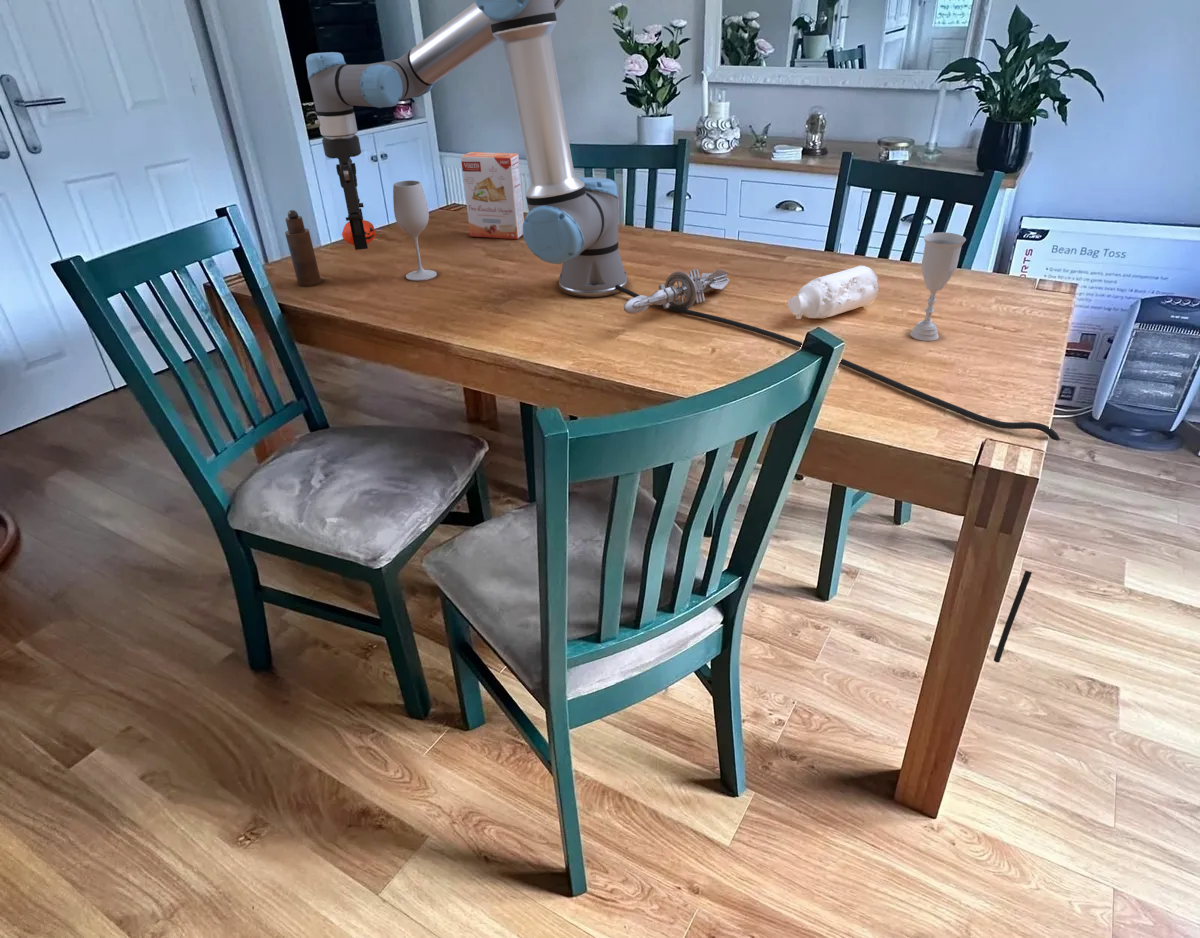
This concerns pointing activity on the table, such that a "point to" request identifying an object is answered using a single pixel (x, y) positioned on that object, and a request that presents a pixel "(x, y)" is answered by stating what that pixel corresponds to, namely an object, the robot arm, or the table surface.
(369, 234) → the pumpkin
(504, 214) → the cracker box
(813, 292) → the white bottle
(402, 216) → the wineglass
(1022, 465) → the table surface
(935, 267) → the chalice
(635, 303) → the spaceship
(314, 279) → the pepper mill
